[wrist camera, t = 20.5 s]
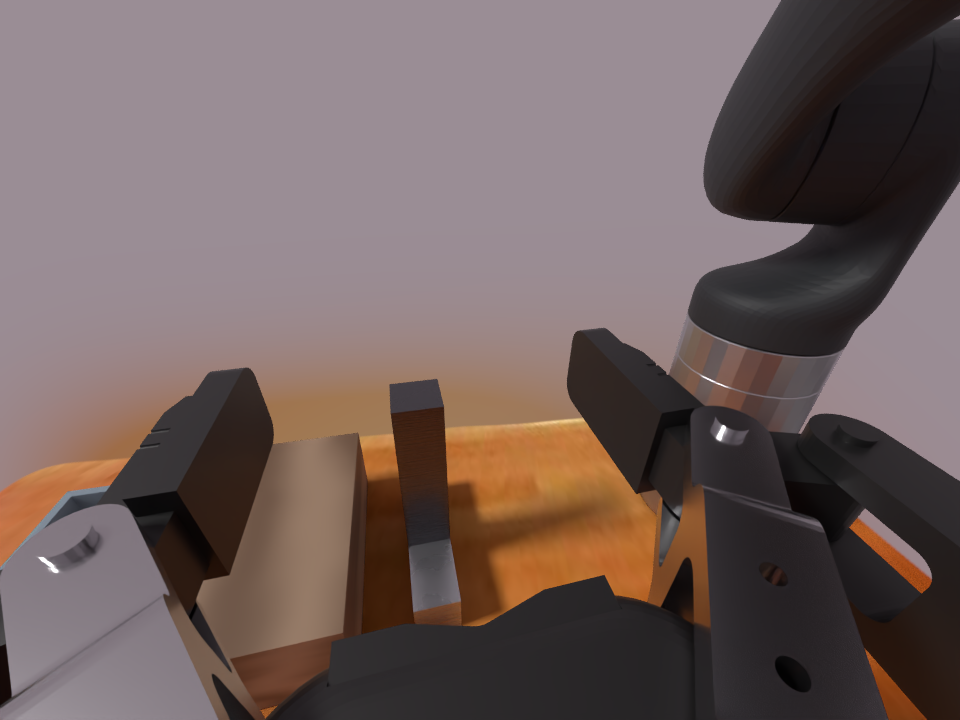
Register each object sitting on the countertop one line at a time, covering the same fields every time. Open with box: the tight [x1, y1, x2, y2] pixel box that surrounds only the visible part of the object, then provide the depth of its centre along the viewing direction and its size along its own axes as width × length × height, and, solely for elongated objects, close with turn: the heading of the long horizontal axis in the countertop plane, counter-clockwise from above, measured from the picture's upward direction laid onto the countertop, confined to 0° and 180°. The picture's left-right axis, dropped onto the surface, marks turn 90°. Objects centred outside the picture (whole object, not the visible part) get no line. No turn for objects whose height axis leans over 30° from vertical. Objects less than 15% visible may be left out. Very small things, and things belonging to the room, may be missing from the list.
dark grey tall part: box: [390, 379, 462, 626], centre depth 27 cm, size 3×12×15 cm, turn 13°
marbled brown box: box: [197, 433, 368, 710], centre depth 27 cm, size 12×16×6 cm
